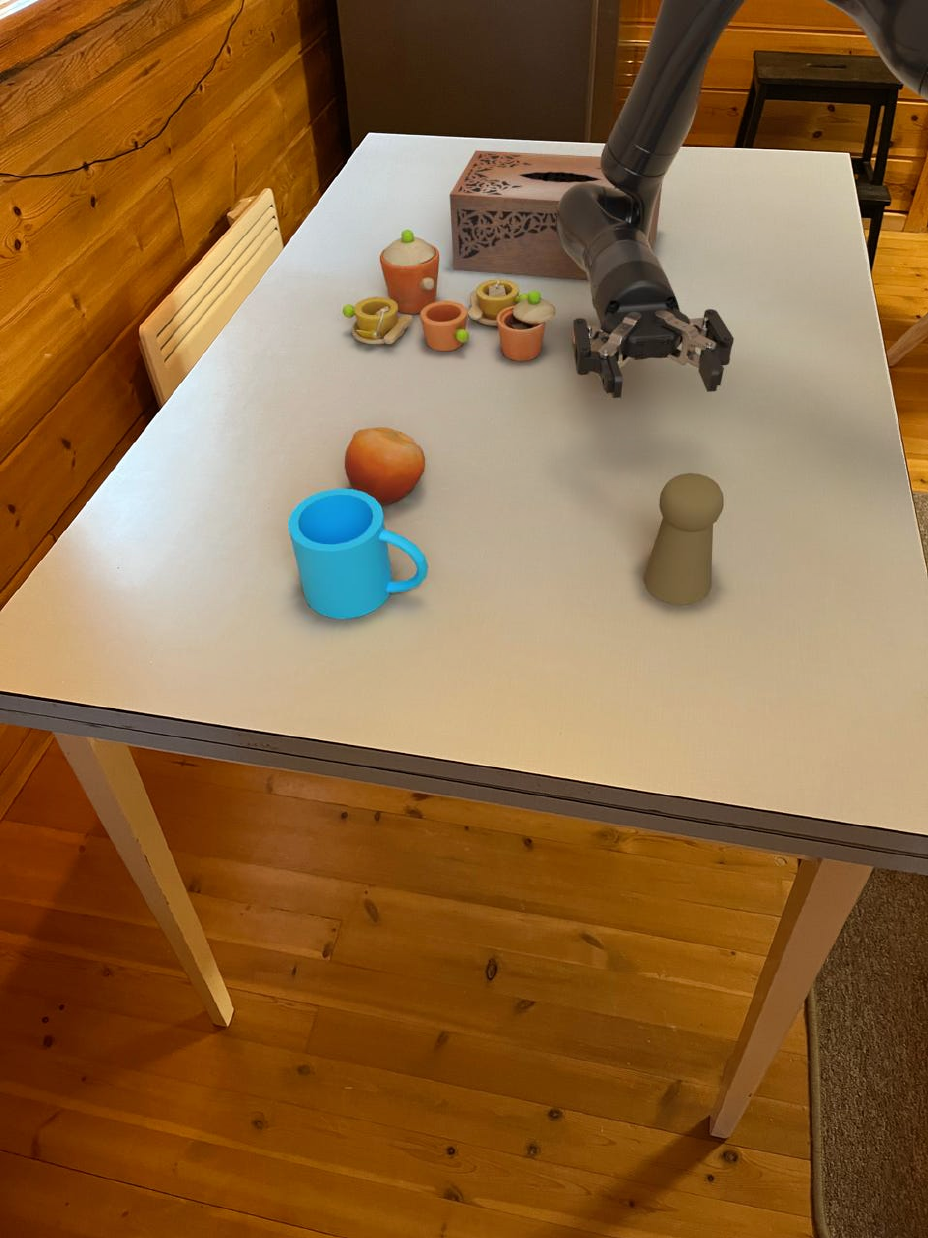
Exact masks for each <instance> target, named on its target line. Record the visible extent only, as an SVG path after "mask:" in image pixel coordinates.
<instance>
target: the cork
mask: <svg viewBox="0 0 928 1238" xmlns="http://www.w3.org/2000/svg"><path fill="white" fill-rule="evenodd" d="M659 497H660V498H659V504H658V505H659V511H660V513H661V516H662V519H661V522H660V524H659V528H658V530H657V534H656V537H655V540H654V543H653V546H652V548H651V552H650V555H649V558H648V561H647V564H646V567H645V570H644V573H643V583H644V586H645V589H646V590H647V591H648V592H649V594H650V595H651V596H653V597H655V598H656V599H657V600H659V601H661V602H664V603H667V604H669V605H678V606H685V605H693V604H695V603H697V602H701V601H703V599H704V598H706V597H707V596H708V595H709V593H710V591H711V589H712V572H713V571H712V569H713V542H714V541H713V540H714V539H713V538H714V535H713V534H714V524H715V523H717V521H718V519H719V518H720V516H721V514H722V512H723V510H724V503H725V500H724V498H725V497H724V493H723V491H722V489H721V487H720V485H719V484H718V483H717V482H716V481H715V480H714V479H712V478H710V477H709V476H707V475H704V474H700V473H693V472H688V473H680V474H678V475H675V476H673V478H670V480H668V481H667V482H665V485H664V486H663V488H662V489H661V491H660V495H659Z"/></svg>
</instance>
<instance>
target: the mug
mask: <svg viewBox="0 0 928 1238" xmlns="http://www.w3.org/2000/svg"><path fill="white" fill-rule="evenodd" d="M287 525H288V533H289V537H290V541H291V545H292V549H293V554H294V558H295V562H296V566H297V569H298V575H299V578H300V583H301V587H302V592H303V595H304V599H305V601H306V602H307V604H308V605H309V607H310V609H312V610H314V611H315V612H317V613H318V614H319V615H321V616H324V617H327V618H331V619H341V620H349V619H354V618H355V619H356V618H359V617H363V616H366V615H369V614H370V613H372V612H374V611H376V610H377V609H378V608H380V607H382V606H383V605H384V604H385V603H386V601H387V599H388V598H389V597H390V595H391V594H396V593H403V592H409V591H411V590H413V589H415V588H418V587H419V586H420V585H421V584H422V583H423V582H424V581H425V580H426V578H427V575H428V570H429V564H428V561H427V558H426V555H425V554H424V553H423V551H422V550H421V549H420V548H419V547H418V545H416V544H415V543H414V542H412V541H411V540H409V539H408V538H406V537H405V536H402V535H401V534H399V533H396V532H394V531H392V530H388V529H386V525H385V516H384V512H383V508H382V505H380V504H379V503H378V502H377V501H376V499H375V498H373V497H372V496H370V495H368V494H366V493H365V492H361V491H357V490H353V489H352V488H334V489H328V490H323V491H319V492H316V493H314V494H311V495H309V496H307V497H306V498H305V499H303V500H302V501H300V502H299V503H298V504H297V505H296V506H295V507H294V509H293V510H292V511H291V512H290V516H289V518H288V520H287ZM388 544H389V545H392V546H394V547H396V548H398V549H400V550H401V551H402V552H403V553H405V554H407V555H408V556H409V557H410V558H411V560H412V561H413V562H414V565H415V568H416V572H415V574H414V575H413V576H412V577H410V578H408V579H404V580H398V581H395V580H393V575H392V568H391V566H392V565H391V560H390V559H391V558H390V553H389V545H388Z"/></svg>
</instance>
